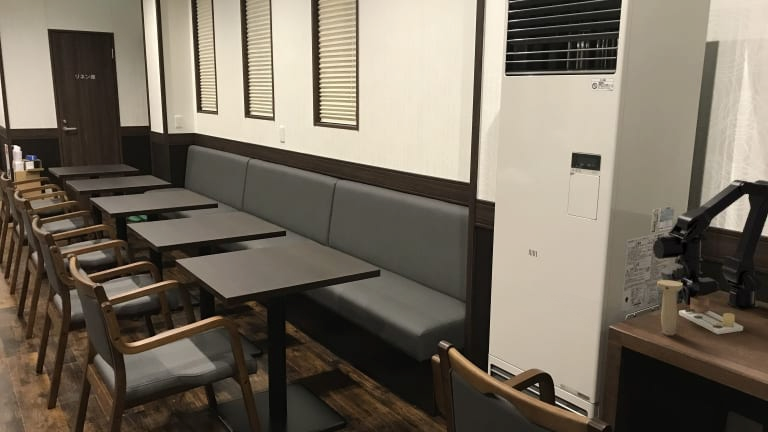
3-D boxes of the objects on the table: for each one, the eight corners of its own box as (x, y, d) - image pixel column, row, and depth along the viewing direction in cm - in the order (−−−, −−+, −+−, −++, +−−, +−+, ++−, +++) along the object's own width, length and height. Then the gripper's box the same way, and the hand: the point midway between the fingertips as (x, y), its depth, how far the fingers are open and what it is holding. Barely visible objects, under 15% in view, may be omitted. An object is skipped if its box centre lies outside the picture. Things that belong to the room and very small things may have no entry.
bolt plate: (702, 311, 187) (702, 297, 186) (742, 330, 171) (743, 315, 170) (678, 314, 185) (679, 300, 184) (717, 334, 169) (718, 319, 168)
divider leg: (701, 308, 185) (702, 295, 184) (708, 311, 182) (709, 298, 181) (682, 310, 184) (683, 298, 183) (689, 313, 181) (689, 301, 180)
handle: (678, 339, 168) (679, 287, 165) (653, 334, 172) (654, 283, 169) (683, 333, 171) (684, 282, 168) (659, 328, 175) (660, 279, 173)
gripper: (647, 251, 191) (646, 298, 194) (685, 266, 173) (684, 318, 176) (679, 247, 193) (677, 294, 196) (720, 262, 175) (718, 313, 178)
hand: (688, 304), depth 187 cm, fingers closed
